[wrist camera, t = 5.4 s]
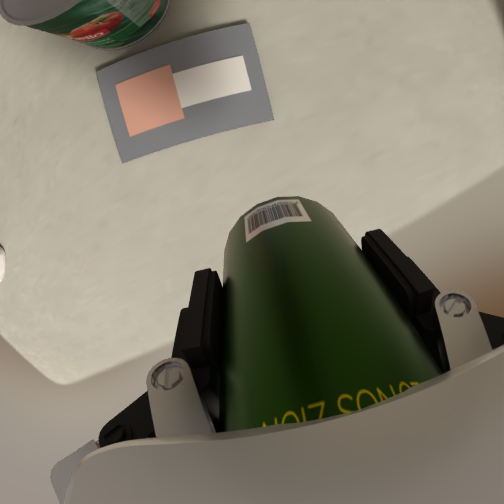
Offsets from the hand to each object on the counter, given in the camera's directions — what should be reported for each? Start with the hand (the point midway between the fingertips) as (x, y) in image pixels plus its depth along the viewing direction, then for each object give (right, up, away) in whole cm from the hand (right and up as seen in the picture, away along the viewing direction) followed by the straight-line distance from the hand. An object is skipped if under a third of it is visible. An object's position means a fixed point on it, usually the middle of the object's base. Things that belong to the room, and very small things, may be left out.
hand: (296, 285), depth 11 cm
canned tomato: (-12, +20, +4) cm, 24 cm away
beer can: (0, +1, +3) cm, 3 cm away
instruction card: (-7, +13, +8) cm, 17 cm away
